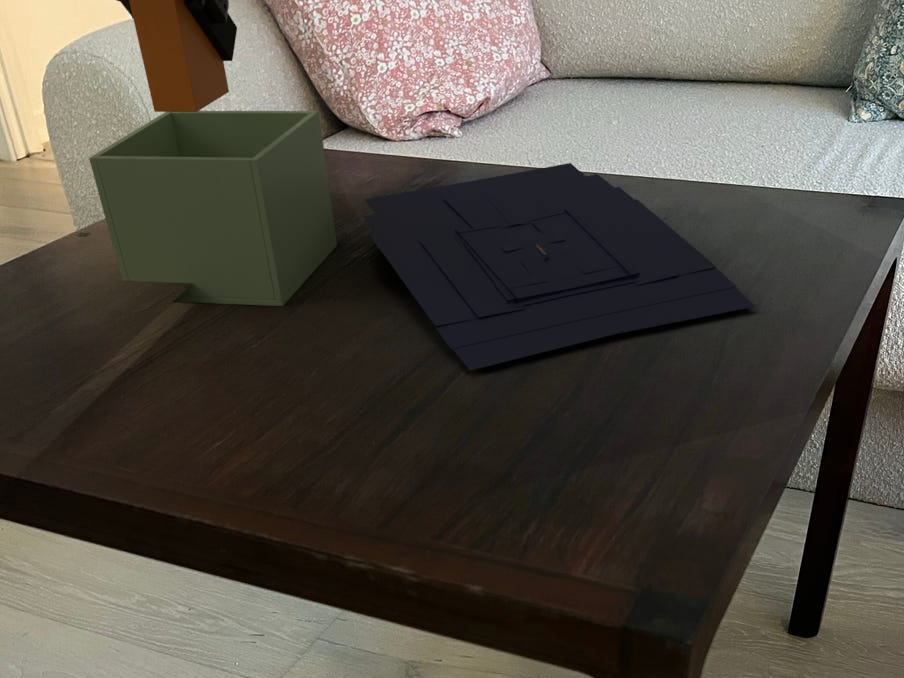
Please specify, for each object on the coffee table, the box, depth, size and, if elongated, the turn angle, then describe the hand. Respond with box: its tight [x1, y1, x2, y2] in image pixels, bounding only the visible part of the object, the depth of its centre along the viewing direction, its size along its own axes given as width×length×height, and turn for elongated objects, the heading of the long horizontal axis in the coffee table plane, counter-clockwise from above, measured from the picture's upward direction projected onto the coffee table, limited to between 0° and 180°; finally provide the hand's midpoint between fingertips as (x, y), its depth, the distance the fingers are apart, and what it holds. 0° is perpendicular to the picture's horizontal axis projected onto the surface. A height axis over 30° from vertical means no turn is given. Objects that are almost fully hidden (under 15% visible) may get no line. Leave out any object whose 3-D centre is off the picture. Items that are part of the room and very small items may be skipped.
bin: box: [88, 110, 338, 307], centre depth 90 cm, size 14×14×12 cm
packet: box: [129, 0, 230, 113], centre depth 77 cm, size 4×6×10 cm, turn 167°
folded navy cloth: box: [362, 162, 756, 371], centre depth 88 cm, size 24×30×4 cm
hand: (204, 44), depth 81 cm, fingers closed on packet, 4 cm apart
